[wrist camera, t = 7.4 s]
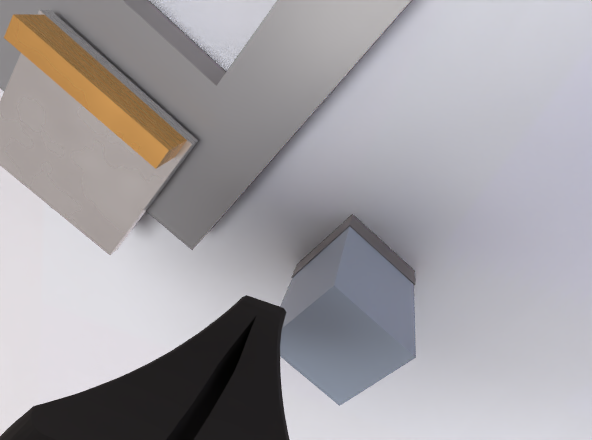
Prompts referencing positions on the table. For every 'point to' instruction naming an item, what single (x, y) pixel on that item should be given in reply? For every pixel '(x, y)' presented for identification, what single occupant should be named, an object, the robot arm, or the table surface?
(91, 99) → the panel
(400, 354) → the plug
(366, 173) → the table surface
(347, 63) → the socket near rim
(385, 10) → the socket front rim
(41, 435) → the robot arm
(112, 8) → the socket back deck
